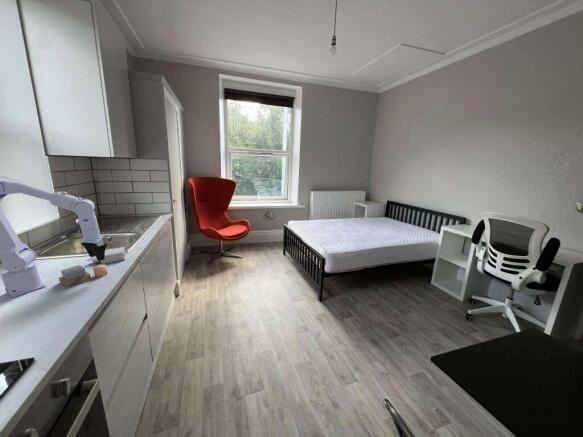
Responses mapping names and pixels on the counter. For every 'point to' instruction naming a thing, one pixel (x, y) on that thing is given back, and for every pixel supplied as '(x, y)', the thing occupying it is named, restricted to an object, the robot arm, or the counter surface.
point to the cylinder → (100, 270)
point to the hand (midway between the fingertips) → (97, 258)
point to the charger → (111, 256)
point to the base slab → (74, 280)
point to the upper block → (73, 272)
